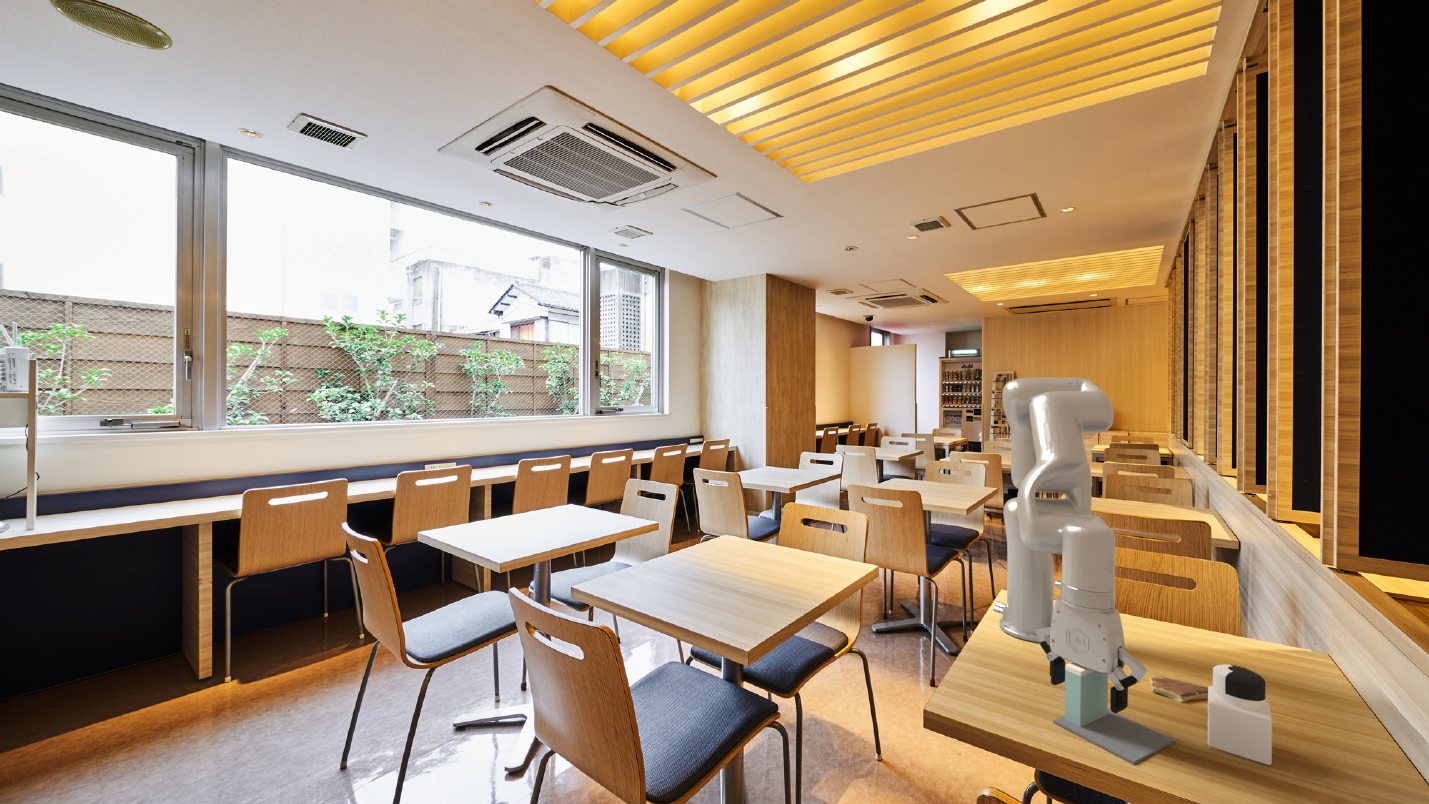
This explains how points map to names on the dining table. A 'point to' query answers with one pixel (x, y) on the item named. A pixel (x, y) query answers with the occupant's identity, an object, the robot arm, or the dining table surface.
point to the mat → (1119, 736)
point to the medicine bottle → (1239, 714)
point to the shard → (1178, 689)
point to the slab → (1085, 694)
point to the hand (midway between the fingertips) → (1086, 696)
